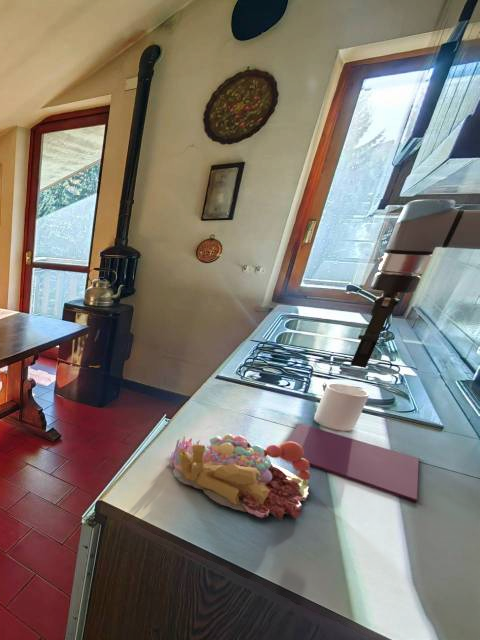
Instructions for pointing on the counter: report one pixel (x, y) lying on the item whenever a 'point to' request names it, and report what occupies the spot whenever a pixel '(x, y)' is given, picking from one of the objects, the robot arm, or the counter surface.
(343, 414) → the cup
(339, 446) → the mat
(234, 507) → the food platter
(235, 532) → the counter surface
